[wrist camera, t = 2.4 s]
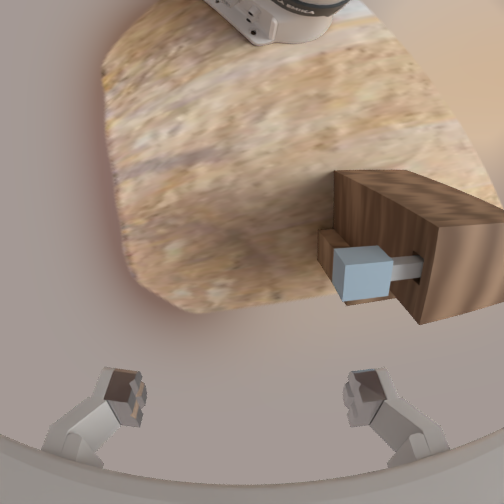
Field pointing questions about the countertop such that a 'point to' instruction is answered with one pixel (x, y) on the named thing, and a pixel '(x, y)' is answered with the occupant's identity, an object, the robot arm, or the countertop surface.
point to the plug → (370, 271)
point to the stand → (421, 239)
